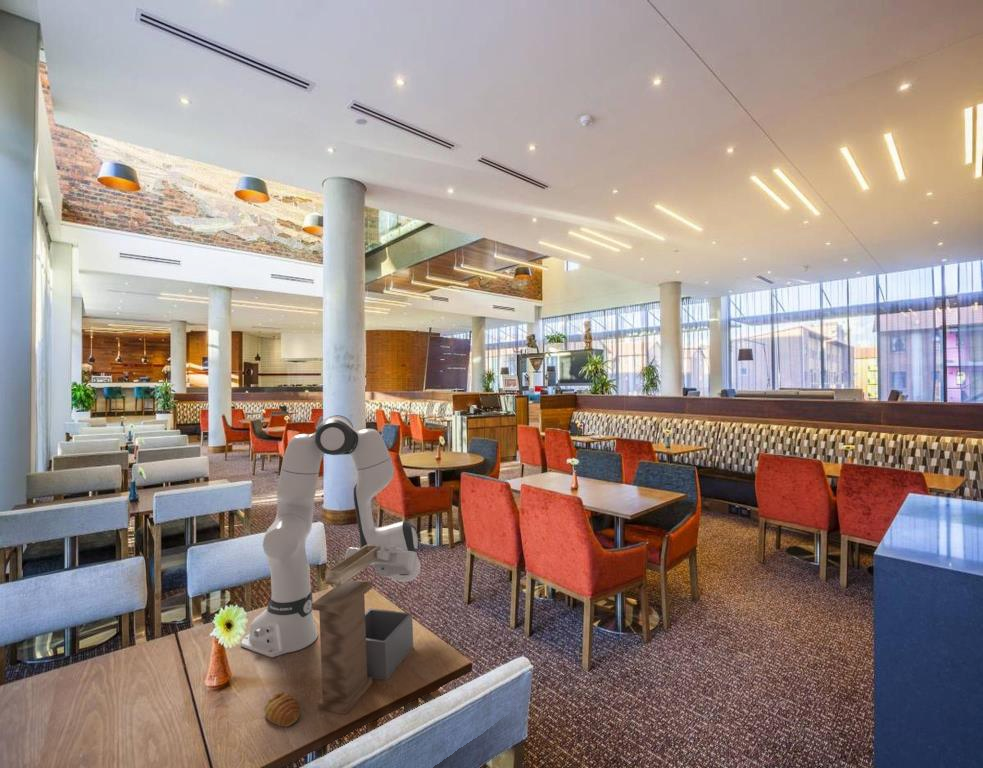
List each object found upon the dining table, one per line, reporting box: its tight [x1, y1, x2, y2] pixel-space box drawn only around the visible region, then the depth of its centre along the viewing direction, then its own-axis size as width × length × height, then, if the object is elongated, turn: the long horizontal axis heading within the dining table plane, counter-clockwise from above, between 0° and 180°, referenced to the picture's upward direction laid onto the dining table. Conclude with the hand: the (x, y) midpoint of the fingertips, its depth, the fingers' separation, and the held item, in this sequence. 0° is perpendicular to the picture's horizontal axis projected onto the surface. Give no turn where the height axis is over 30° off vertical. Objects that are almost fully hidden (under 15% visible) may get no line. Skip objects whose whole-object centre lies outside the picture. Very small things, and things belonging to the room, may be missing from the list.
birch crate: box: [324, 545, 380, 586], centre depth 126 cm, size 4×19×3 cm, turn 163°
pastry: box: [264, 692, 301, 728], centre depth 115 cm, size 9×7×4 cm
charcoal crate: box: [365, 608, 414, 681], centre depth 136 cm, size 14×16×10 cm
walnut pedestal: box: [312, 579, 373, 715], centre depth 122 cm, size 8×14×26 cm, turn 163°
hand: (367, 553), depth 132 cm, fingers closed on birch crate, 4 cm apart
